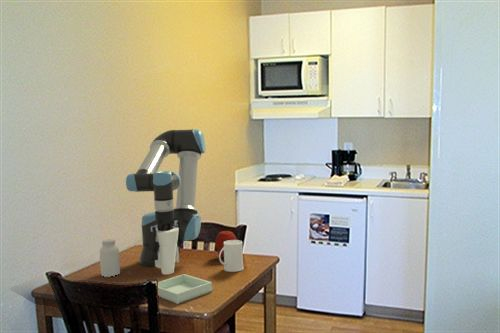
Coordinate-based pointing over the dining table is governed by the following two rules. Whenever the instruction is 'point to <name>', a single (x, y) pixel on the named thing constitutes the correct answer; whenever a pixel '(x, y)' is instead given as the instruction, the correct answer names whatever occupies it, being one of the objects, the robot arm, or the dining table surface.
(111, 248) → the pill bottle
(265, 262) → the dining table surface
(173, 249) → the cup
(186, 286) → the tray
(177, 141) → the robot arm
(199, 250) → the dining table surface
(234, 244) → the mug
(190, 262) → the dining table surface
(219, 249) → the red rounded piece
